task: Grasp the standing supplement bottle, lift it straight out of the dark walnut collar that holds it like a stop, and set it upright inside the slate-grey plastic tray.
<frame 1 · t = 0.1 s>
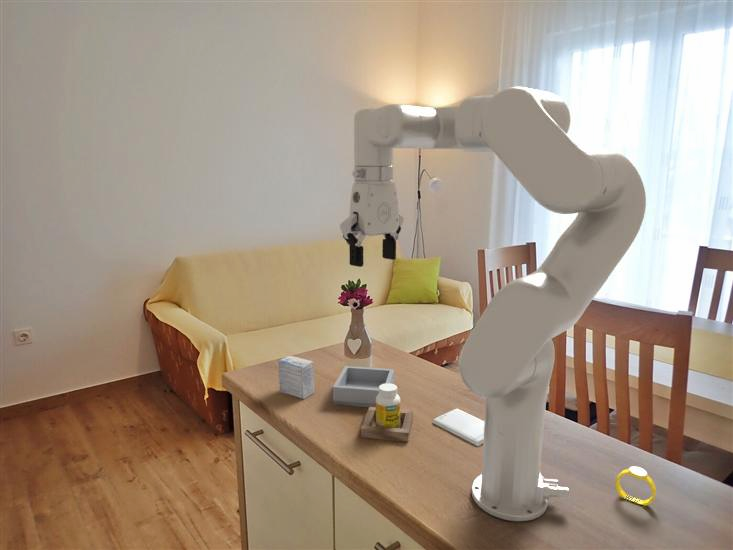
hand: (373, 262, 103), 37 cm above the kitchen counter, tool pointing down, fingers open, 9 cm apart
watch: (633, 502, 88), on the kitchen counter
walnut stop collar: (387, 427, 112), on the kitchen counter
supplement bottle: (387, 428, 112), resting in walnut stop collar
slate tray: (364, 394, 128), on the kitchen counter
medicine box: (297, 393, 129), on the kitchen counter
hard drive: (466, 431, 112), on the kitchen counter
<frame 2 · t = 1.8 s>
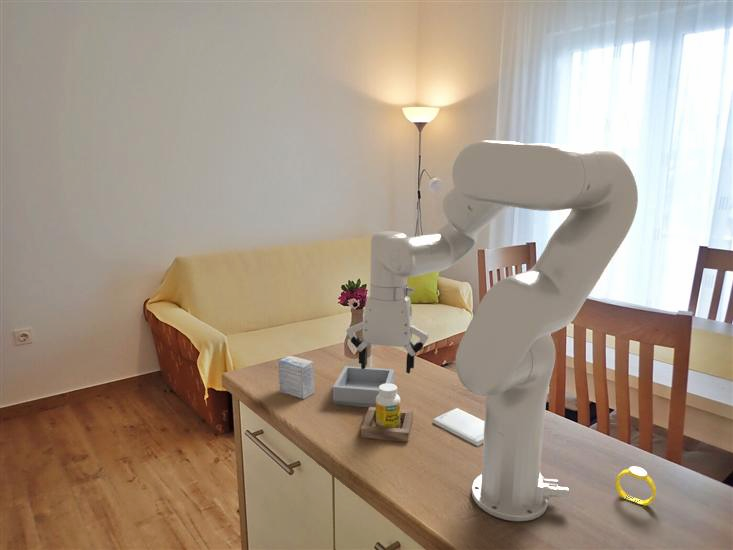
hand: (386, 368, 110), 14 cm above the kitchen counter, tool pointing down, fingers open, 9 cm apart
nothing on the kitchen counter moved.
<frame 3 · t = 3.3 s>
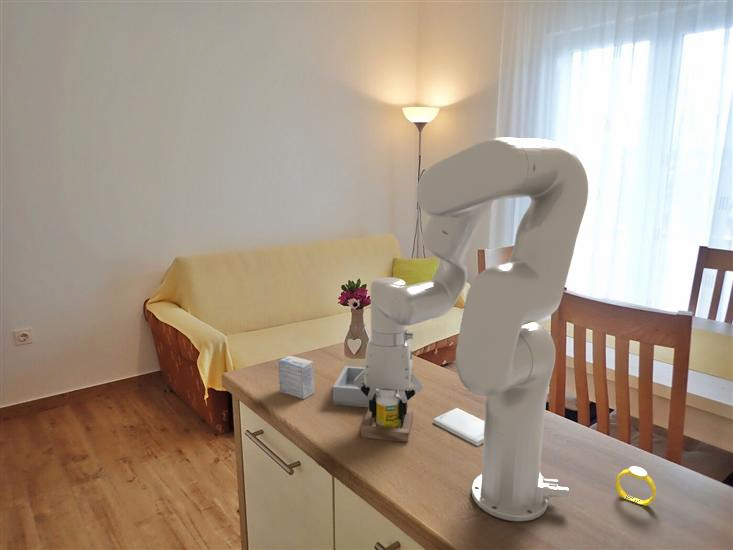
hand: (387, 414, 112), 3 cm above the kitchen counter, tool pointing down, fingers closed on supplement bottle, 5 cm apart
supplement bottle: (387, 428, 112), resting in walnut stop collar, touching gripper
everything else where it was.
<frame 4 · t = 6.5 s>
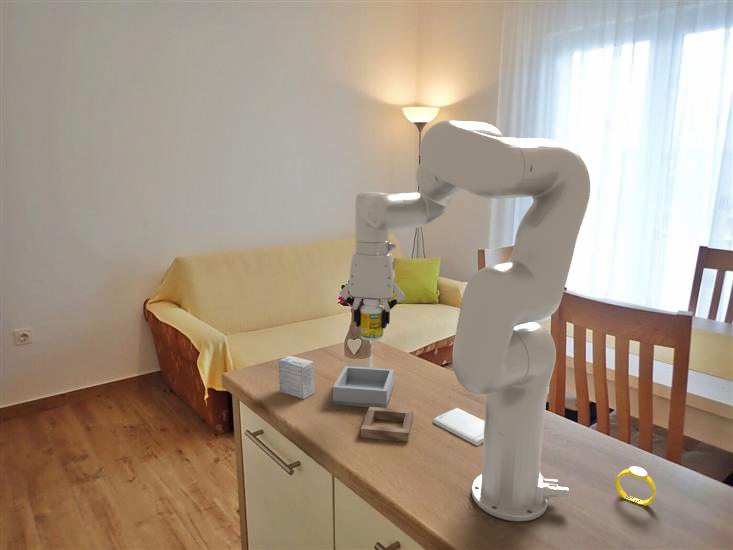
hand: (371, 324, 118), 20 cm above the kitchen counter, tool pointing down, fingers closed on supplement bottle, 5 cm apart
supplement bottle: (371, 338, 119), point 17 cm above the kitchen counter, touching gripper
everything else where it was.
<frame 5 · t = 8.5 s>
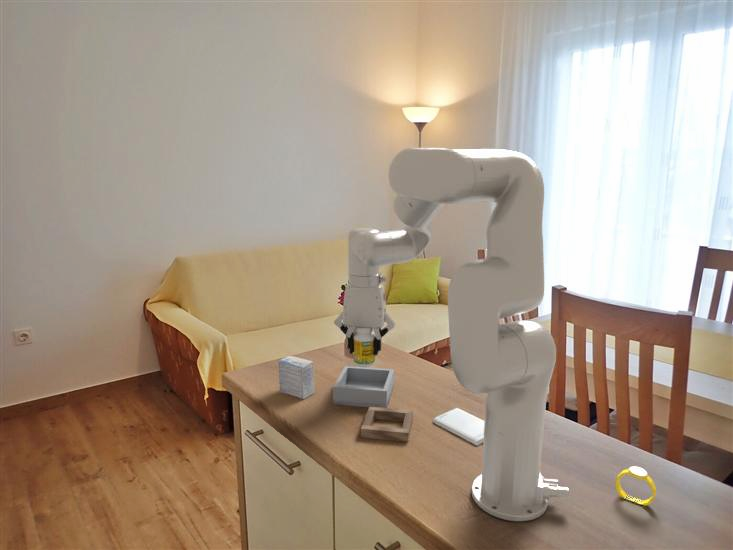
hand: (364, 351, 126), 11 cm above the kitchen counter, tool pointing down, fingers closed on supplement bottle, 5 cm apart
supplement bottle: (364, 363, 126), point 8 cm above the kitchen counter, touching gripper
everything else where it was.
when the fingers open (5 cm above the kitchen counter, at t = 10.0 s): supplement bottle drops 1 cm, resting on slate tray.
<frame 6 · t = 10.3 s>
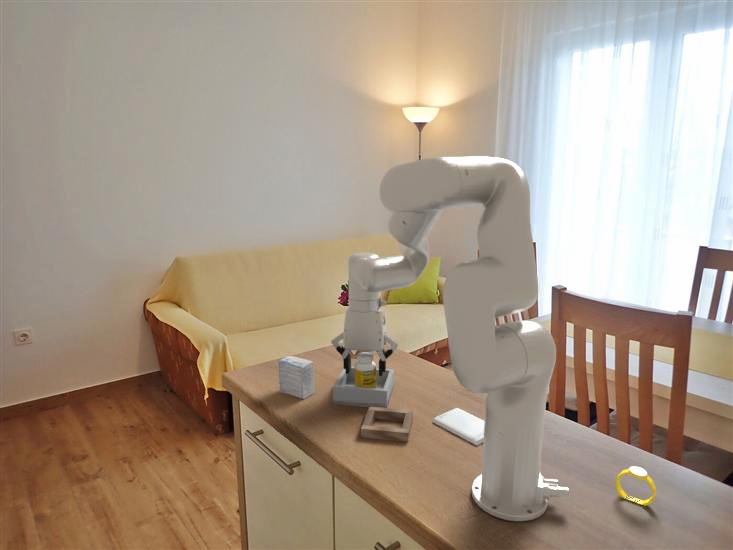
hand: (364, 372, 127), 6 cm above the kitchen counter, tool pointing down, fingers open, 7 cm apart
supplement bottle: (365, 391, 128), point 1 cm above the kitchen counter, touching slate tray
everything else where it was.
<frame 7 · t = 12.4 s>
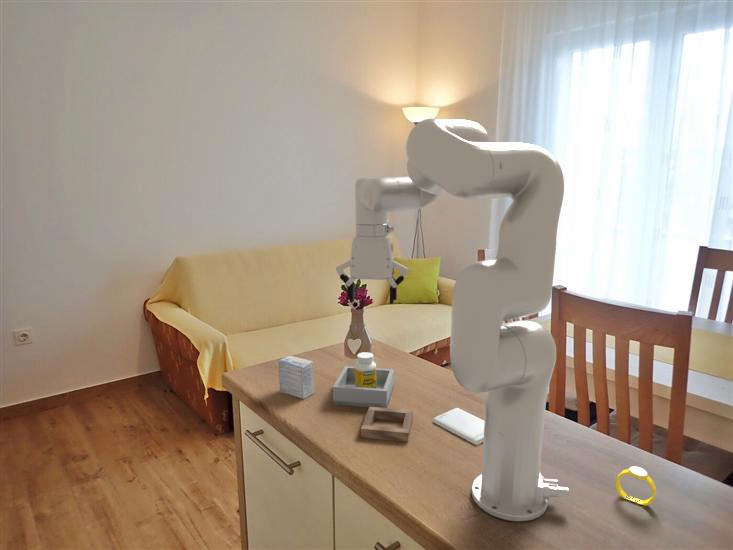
hand: (372, 301, 123), 24 cm above the kitchen counter, tool pointing down, fingers open, 9 cm apart
nothing on the kitchen counter moved.
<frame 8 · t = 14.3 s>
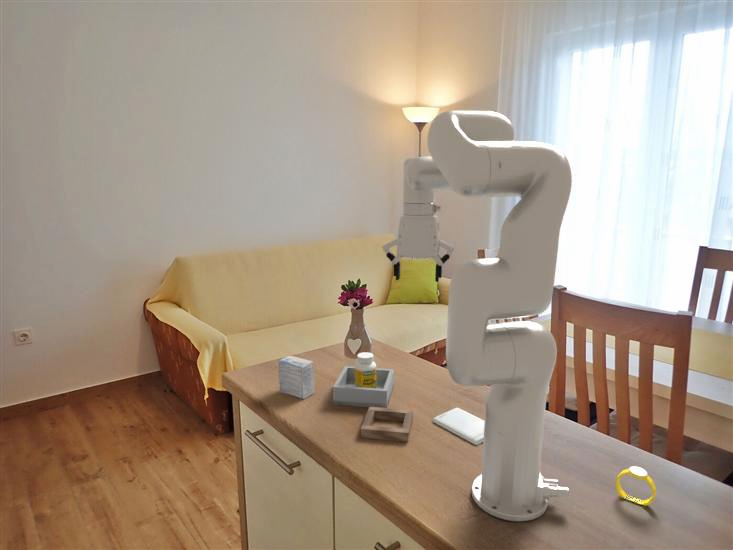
hand: (417, 279, 126), 28 cm above the kitchen counter, tool pointing down, fingers open, 9 cm apart
nothing on the kitchen counter moved.
at the end: supplement bottle inside the target area on the slate tray (0.4 cm from its centre), point 0.8 cm above the slate tray's base; supplement bottle tilted 0°; the gripper is holding nothing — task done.
